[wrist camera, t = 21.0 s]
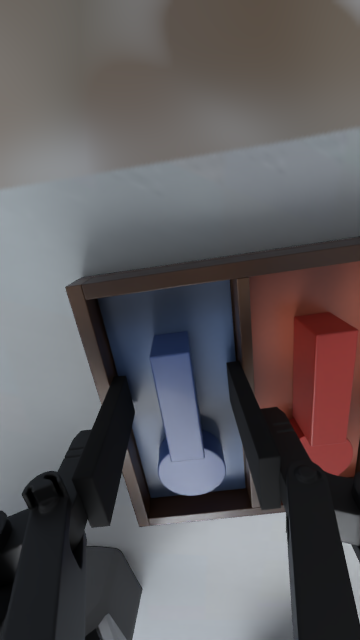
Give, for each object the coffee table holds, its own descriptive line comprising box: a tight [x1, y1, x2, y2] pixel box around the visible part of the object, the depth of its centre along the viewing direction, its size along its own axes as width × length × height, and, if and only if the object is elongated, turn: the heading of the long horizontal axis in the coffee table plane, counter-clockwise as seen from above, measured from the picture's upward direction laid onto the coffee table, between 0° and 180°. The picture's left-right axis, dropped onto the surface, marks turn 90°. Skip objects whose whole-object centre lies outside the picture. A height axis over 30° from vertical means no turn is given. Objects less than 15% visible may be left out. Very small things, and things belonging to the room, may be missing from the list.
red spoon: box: [289, 312, 359, 476], centre depth 15 cm, size 11×4×3 cm, turn 8°
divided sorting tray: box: [65, 237, 360, 527], centre depth 16 cm, size 18×17×2 cm
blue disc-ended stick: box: [149, 331, 226, 496], centre depth 16 cm, size 11×4×3 cm, turn 8°
